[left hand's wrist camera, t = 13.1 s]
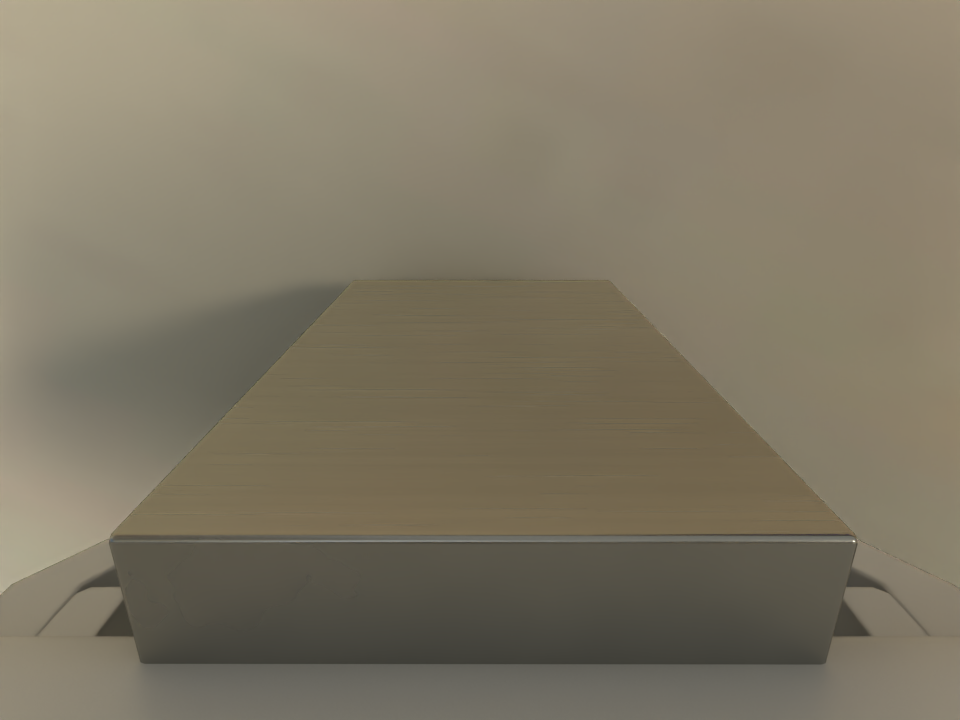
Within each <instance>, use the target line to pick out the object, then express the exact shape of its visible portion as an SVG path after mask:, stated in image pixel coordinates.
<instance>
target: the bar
mask: <svg viewBox="0 0 960 720" xmlns="http://www.w3.org/2000/svg"><path fill="white" fill-rule="evenodd" d="M857 545H858V543H857V538H856V535H855V534H854V533H853V532H852V531H851V530H850V529H849V528H848V527H847V526H846V525H845V524H844V523H843V522H842V520H841V519H840V518H839V517H838V516H837V515H836V514H835V513H834V512H833V511H832V510H831V509H830V508H829V507H828V506H827V505H826V504H825V503H824V502H823V501H822V500H821V499H820V498H819V497H818V496H817V495H816V494H815V493H814V492H813V490H812V489H811V488H810V487H809V486H808V485H807V484H806V483H805V482H804V481H803V480H802V479H801V478H800V477H799V476H798V475H797V474H796V473H795V472H794V471H793V470H792V469H791V468H790V467H789V466H788V465H787V464H786V463H785V462H784V461H783V459H782V458H781V457H780V456H779V455H778V454H777V453H776V452H775V451H774V450H773V449H772V448H771V447H770V446H769V445H768V444H767V443H766V442H765V441H764V440H763V439H762V438H761V437H760V436H759V435H758V434H757V433H756V432H755V431H754V429H753V428H752V427H751V426H750V425H749V424H748V423H747V422H746V421H745V420H744V419H743V418H742V417H741V416H740V415H739V414H738V413H737V412H736V411H735V410H734V409H733V408H732V407H731V406H730V405H729V404H728V403H727V402H726V401H725V400H724V398H723V397H722V396H721V395H720V394H719V393H718V392H717V391H716V390H715V389H714V388H713V387H712V386H711V385H710V384H709V383H708V382H707V381H706V380H705V379H704V378H703V377H702V376H701V375H700V374H699V373H698V372H697V371H696V370H695V368H694V367H693V366H692V365H691V364H690V363H689V362H688V361H687V360H686V359H685V358H684V357H683V356H682V355H681V354H680V353H679V352H678V351H677V350H676V349H675V348H674V347H673V346H672V345H671V344H670V343H669V342H668V341H667V340H666V338H665V337H664V336H663V335H662V334H661V333H660V332H659V331H658V330H657V329H656V328H655V327H654V326H653V325H652V324H651V323H650V322H649V321H648V320H647V319H646V318H645V317H644V316H643V315H642V314H641V313H640V312H639V311H638V310H637V309H636V307H635V306H634V305H633V304H632V303H631V302H630V301H629V300H628V299H627V298H626V297H625V296H624V295H623V294H622V293H621V292H620V291H619V290H618V289H617V288H616V287H615V286H614V285H613V284H612V283H611V282H610V281H609V280H355V281H353V282H352V283H351V284H350V285H349V286H348V287H347V288H346V289H345V290H344V291H343V292H342V293H341V294H340V295H339V296H338V298H337V299H336V300H335V301H334V302H333V303H332V304H331V305H330V306H329V307H328V308H327V309H326V310H325V311H324V312H323V313H322V314H321V315H320V316H319V317H318V318H317V319H316V321H315V322H314V323H313V324H312V325H311V326H310V327H309V328H308V329H307V330H306V331H305V332H304V333H303V334H302V335H301V336H300V337H299V338H298V339H297V340H296V341H295V342H294V344H293V345H292V346H291V347H290V348H289V349H288V350H287V351H286V352H285V353H284V354H283V355H282V356H281V357H280V358H279V359H278V360H277V361H276V362H275V363H274V364H273V365H272V367H271V368H270V369H269V370H268V371H267V372H266V373H265V374H264V375H263V376H262V377H261V378H260V379H259V380H258V381H257V382H256V383H255V384H254V385H253V386H252V387H251V388H250V390H249V391H248V392H247V393H246V394H245V395H244V396H243V397H242V398H241V399H240V400H239V401H238V402H237V403H236V404H235V405H234V406H233V407H232V408H231V409H230V410H229V411H228V413H227V414H226V415H225V416H224V417H223V418H222V419H221V420H220V421H219V422H218V423H217V424H216V425H215V426H214V427H213V428H212V429H211V430H210V431H209V432H208V433H207V434H206V436H205V437H204V438H203V439H202V440H201V441H200V442H199V443H198V444H197V445H196V446H195V447H194V448H193V449H192V450H191V451H190V452H189V453H188V454H187V455H186V456H185V457H184V459H183V460H182V461H181V462H180V463H179V464H178V465H177V466H176V467H175V468H174V469H173V470H172V471H171V472H170V473H169V474H168V475H167V476H166V477H165V478H164V479H163V480H162V482H161V483H160V484H159V485H158V486H157V487H156V488H155V489H154V490H153V491H152V492H151V493H150V494H149V495H148V496H147V497H146V498H145V499H144V500H143V501H142V502H141V503H140V505H139V506H138V507H137V508H136V509H135V510H134V511H133V512H132V513H131V514H130V515H129V516H128V517H127V518H126V519H125V520H124V521H123V522H122V523H121V524H120V525H119V526H118V528H117V529H116V530H115V531H114V532H113V533H112V534H111V536H110V539H109V546H110V549H111V553H112V557H113V561H114V565H115V568H116V572H117V576H118V580H119V583H120V587H121V591H122V595H123V599H124V602H125V606H126V610H127V614H128V617H129V621H130V625H131V629H132V633H133V636H134V640H135V644H136V648H137V651H138V655H139V659H140V662H141V663H144V664H752V665H821V664H824V663H826V660H827V656H828V652H829V649H830V645H831V641H832V637H833V634H834V630H835V626H836V623H837V619H838V615H839V612H840V608H841V604H842V600H843V597H844V593H845V589H846V586H847V582H848V578H849V574H850V571H851V567H852V563H853V560H854V556H855V552H856V548H857Z"/></svg>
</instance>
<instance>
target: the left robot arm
mask: <svg viewBox="0 0 960 720" xmlns="http://www.w3.org/2000/svg"><path fill="white" fill-rule="evenodd" d="M109 539H110V538H109ZM109 539H107V540H105V541H103V542H101V543H99V544H96V545H94V546H92V547H90V548H88V549H86V550H84V551H82V552H79V553H77V554H75V555H73V556H71V557H69V558H67V559H65V560H63V561H60V562H58V563H56V564H54V565H52V566H50V567H48V568H46V569H43V570H41V571H39V572H37V573H35V574H33V575H31V576H29V577H27V578H24V579H22V580H20V581H18V582H16V583H14V584H12V585H11V586H10V587H8V588H7V589H6V590H5V591H4V592H3V593H2V594H1V595H0V720H960V590H959V589H958V588H957V587H956V586H955V585H953V584H951V583H949V582H946V581H944V580H942V579H940V578H938V577H936V576H934V575H932V574H929V573H927V572H925V571H923V570H921V569H919V568H917V567H915V566H912V565H910V564H908V563H906V562H904V561H902V560H900V559H898V558H895V557H893V556H891V555H889V554H887V553H885V552H883V551H881V550H878V549H876V548H874V547H872V546H870V545H868V544H866V543H864V542H861V541H859V540H857V543H858V545H857V548H856V552H855V556H854V560H853V563H852V567H851V571H850V574H849V578H848V582H847V586H846V589H845V593H844V597H843V600H842V604H841V608H840V612H839V615H838V619H837V623H836V626H835V630H834V634H833V637H832V641H831V645H830V649H829V652H828V656H827V660H826V663H824V664H821V665H752V664H144V663H141V662H140V659H139V655H138V651H137V648H136V644H135V640H134V636H133V633H132V629H131V625H130V621H129V617H128V614H127V610H126V606H125V602H124V599H123V595H122V591H121V587H120V583H119V580H118V576H117V572H116V568H115V565H114V561H113V557H112V553H111V549H110V546H109Z"/></svg>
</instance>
